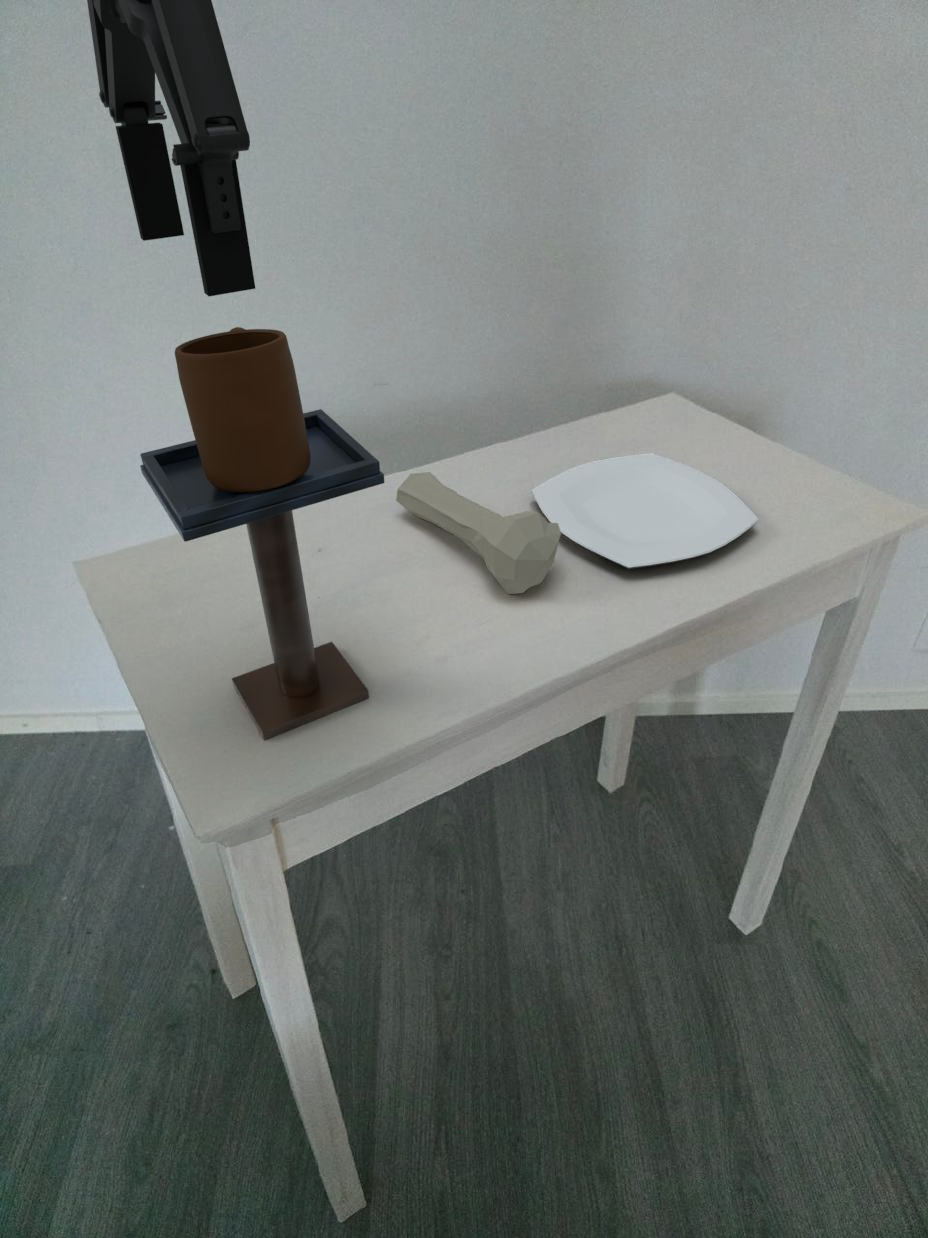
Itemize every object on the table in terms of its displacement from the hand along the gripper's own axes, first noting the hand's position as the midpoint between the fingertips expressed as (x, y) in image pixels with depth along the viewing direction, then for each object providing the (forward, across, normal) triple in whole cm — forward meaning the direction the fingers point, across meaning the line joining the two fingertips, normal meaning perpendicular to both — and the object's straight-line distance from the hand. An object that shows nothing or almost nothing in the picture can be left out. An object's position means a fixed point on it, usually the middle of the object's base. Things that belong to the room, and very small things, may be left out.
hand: (193, 262), depth 51 cm
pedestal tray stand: (+38, 0, -2) cm, 38 cm away
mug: (+15, 0, -2) cm, 15 cm away
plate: (+38, +7, -48) cm, 62 cm away
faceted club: (+38, +12, -28) cm, 49 cm away
